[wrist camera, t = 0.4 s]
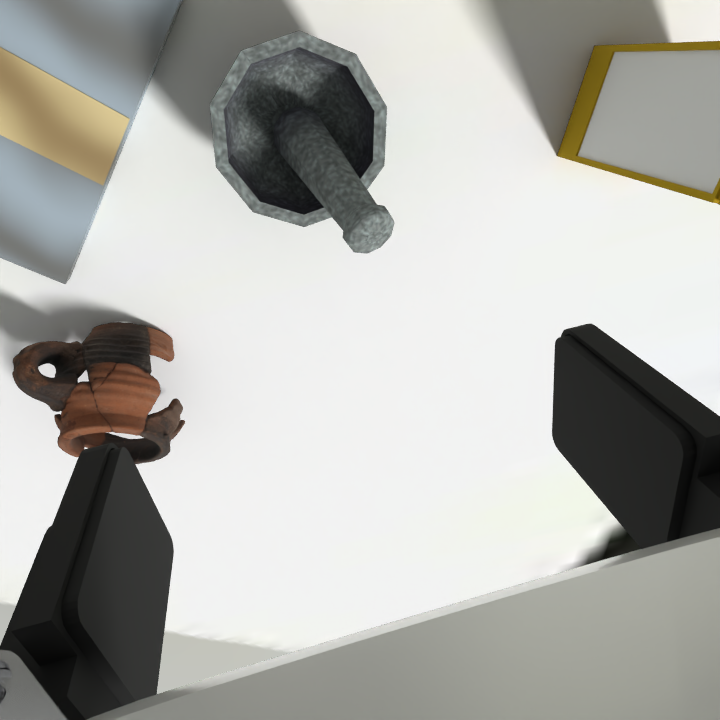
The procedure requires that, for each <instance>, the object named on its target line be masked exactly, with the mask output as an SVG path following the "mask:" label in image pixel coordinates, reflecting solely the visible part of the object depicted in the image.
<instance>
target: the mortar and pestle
mask: <svg viewBox="0 0 720 720" xmlns="http://www.w3.org/2000/svg"><path fill="white" fill-rule="evenodd" d="M210 112H211V122H212V132H213V142H214V152H215V162H216V168H217V169H218V170H219V171H220V172H221V174H222V175H223V176H224V177H225V179H226V180H227V181H228V182H229V183H230V185H231V186H232V187H233V188H234V190H235V191H236V192H237V193H238V194H239V196H240V197H241V198H242V199H243V201H244V202H245V203H246V204H247V205H248V207H249V208H250V209H251V210H252V212H254V213H258V214H261V215H265V216H268V217H271V218H275V219H278V220H282V221H285V222H289V223H292V224H296V225H299V226H302V227H306V226H308V225H311V224H314V223H317V222H320V221H322V220H325V219H328V218H331V217H333V219H334V220H335V221H336V222H337V224H338V225H339V226H340V227H341V228H342V230H343V239H344V240H345V241H346V243H347V244H348V245H349V247H350V248H351V249H352V250H353V252H355V253H369V252H372V251H374V250H376V249H378V248H380V247H381V246H382V245H383V244H384V243H385V242H386V241H387V240H388V239H389V237H390V236H391V234H392V230H393V226H394V220H393V219H392V217H391V215H390V214H389V212H388V210H387V209H386V208H385V206H381V205H377V204H376V203H375V201H374V200H373V198H372V197H371V195H370V194H369V192H368V190H367V189H368V188H369V186H370V185H371V183H372V182H373V181H374V179H375V178H376V176H377V175H378V174H379V172H380V171H381V169H382V168H383V167H384V160H385V137H386V115H387V106H386V105H385V103H384V101H383V100H382V98H381V96H380V94H379V93H378V91H377V89H376V88H375V86H374V84H373V83H372V81H371V79H370V77H369V76H368V74H367V72H366V71H365V69H364V67H363V66H362V64H361V62H360V60H359V59H358V57H357V55H356V54H355V53H352V52H350V51H347V50H345V49H343V48H340V47H338V46H335V45H333V44H331V43H328V42H326V41H323V40H321V39H318V38H316V37H314V36H311V35H309V34H306V33H304V32H302V31H296V32H293V33H290V34H287V35H284V36H282V37H279V38H276V39H273V40H270V41H267V42H264V43H261V44H258V45H255V46H253V47H250V48H247V49H244V50H241V52H240V53H239V55H238V57H237V58H236V60H235V62H234V64H233V65H232V67H231V69H230V70H229V72H228V74H227V76H226V77H225V79H224V81H223V83H222V84H221V86H220V88H219V89H218V91H217V93H216V95H215V96H214V98H213V100H212V101H211V103H210Z"/></svg>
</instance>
